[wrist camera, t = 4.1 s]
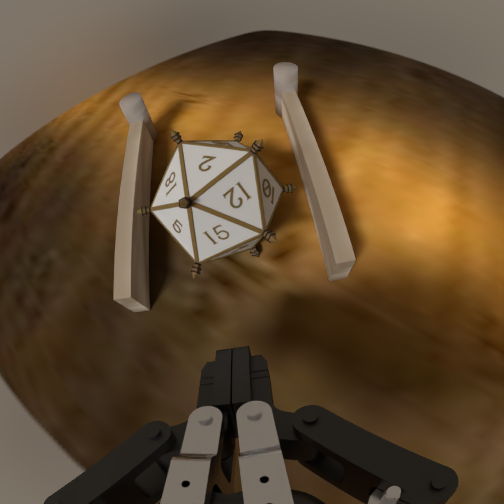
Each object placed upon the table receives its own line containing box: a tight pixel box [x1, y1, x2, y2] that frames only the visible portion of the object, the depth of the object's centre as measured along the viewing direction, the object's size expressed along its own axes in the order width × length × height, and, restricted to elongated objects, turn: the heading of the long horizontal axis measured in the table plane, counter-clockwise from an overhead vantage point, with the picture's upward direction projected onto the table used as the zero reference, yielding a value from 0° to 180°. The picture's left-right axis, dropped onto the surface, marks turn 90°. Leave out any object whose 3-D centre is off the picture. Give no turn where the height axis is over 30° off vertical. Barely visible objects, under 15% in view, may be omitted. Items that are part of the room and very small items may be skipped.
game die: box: [136, 130, 297, 279], centre depth 19 cm, size 9×8×10 cm
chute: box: [114, 62, 356, 312], centre depth 21 cm, size 15×18×5 cm
